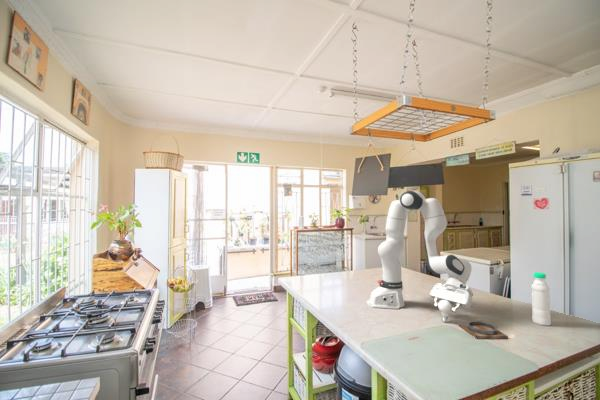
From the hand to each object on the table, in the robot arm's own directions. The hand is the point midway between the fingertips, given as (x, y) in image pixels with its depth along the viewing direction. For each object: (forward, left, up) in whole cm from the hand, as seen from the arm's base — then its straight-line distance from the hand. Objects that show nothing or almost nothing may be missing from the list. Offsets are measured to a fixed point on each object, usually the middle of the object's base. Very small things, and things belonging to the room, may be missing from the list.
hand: (444, 309), depth 143 cm
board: (+11, -12, -7) cm, 18 cm away
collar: (+11, -12, -5) cm, 17 cm away
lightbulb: (0, 0, -7) cm, 7 cm away
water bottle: (+47, -2, -7) cm, 48 cm away
